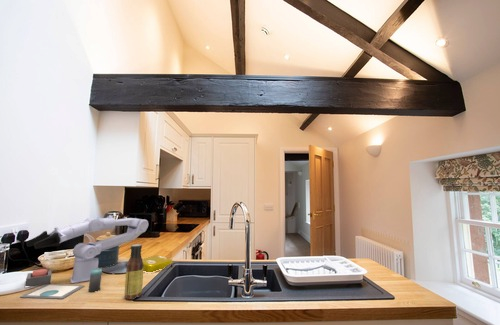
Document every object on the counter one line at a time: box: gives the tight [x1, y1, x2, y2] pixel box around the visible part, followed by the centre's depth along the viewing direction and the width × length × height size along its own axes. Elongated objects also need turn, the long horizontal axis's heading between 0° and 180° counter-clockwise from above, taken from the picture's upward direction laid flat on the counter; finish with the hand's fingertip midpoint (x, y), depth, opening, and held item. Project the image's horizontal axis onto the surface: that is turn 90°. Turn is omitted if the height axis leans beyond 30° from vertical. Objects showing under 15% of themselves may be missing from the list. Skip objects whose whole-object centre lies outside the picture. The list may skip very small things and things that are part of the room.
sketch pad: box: [19, 283, 86, 300], centre depth 92 cm, size 16×12×1 cm
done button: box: [31, 268, 48, 277], centre depth 101 cm, size 5×5×3 cm
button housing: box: [24, 269, 53, 287], centre depth 100 cm, size 8×8×4 cm
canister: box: [94, 231, 120, 269], centre depth 129 cm, size 13×13×18 cm
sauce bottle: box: [123, 243, 144, 300], centre depth 92 cm, size 7×6×20 cm
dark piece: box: [87, 268, 103, 293], centre depth 96 cm, size 4×4×8 cm
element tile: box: [142, 254, 173, 272], centre depth 126 cm, size 15×15×5 cm
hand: (30, 245), depth 91 cm, fingers open, 7 cm apart
